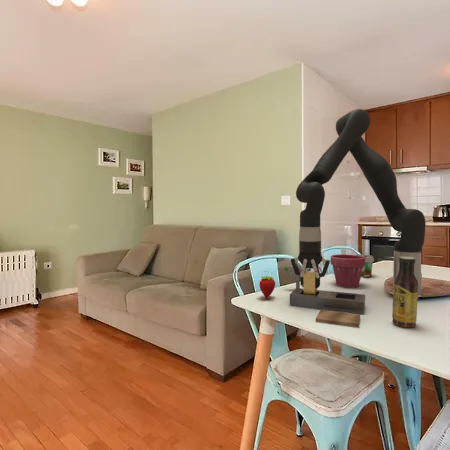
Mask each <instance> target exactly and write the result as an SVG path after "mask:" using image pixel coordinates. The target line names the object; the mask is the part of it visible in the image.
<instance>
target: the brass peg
mask: <svg viewBox="0 0 450 450" xmlns="http://www.w3.org/2000/svg"><path fill="white" fill-rule="evenodd" d="M302 289H303V294H304V295H314V296H317V290H318V289H316V276H315V272H314V271H309V272H308V271H306V272H304V273H303V287H302Z"/></svg>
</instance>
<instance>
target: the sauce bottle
mask: <svg viewBox="0 0 450 450" xmlns="http://www.w3.org/2000/svg"><path fill="white" fill-rule="evenodd" d="M399 263H400V265H399V272H398V275H397V277H396V280H395V282H394V288H393V287H392V309H391V311H392V313H391V318H392V323H393V324H394V325H396V326H398V327H401V328H414V327H416V326H417V318H418V300H419V298H418V281H417V279H416V277H415V275H414V264H415V258H413V257H404V256H403V257H399Z"/></svg>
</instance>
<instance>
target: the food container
mask: <svg viewBox="0 0 450 450" xmlns="http://www.w3.org/2000/svg"><path fill="white" fill-rule="evenodd" d="M355 255H358V256H364V257H365V266H364V267H363V270H362V274H361V278H363V279H369V278H372V274H373V273H372V271H373V263H374V262H375V260H374V259H375V258H374V256H373V255H370V254H361V253H360V254H355Z"/></svg>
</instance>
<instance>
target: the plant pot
mask: <svg viewBox="0 0 450 450" xmlns="http://www.w3.org/2000/svg"><path fill="white" fill-rule="evenodd" d="M330 265H331V266H332V269H333V275H334V279H335V283H336V285H337V286H339V287H342V288H349V289H351V288H353V289H354V288H358V287H359V286H360V282H361V278H362V277H361V274H362V270H363V267H364V266H365V257H364V256H358V255H356V254H341V253H340V254H332V255H330Z"/></svg>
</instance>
